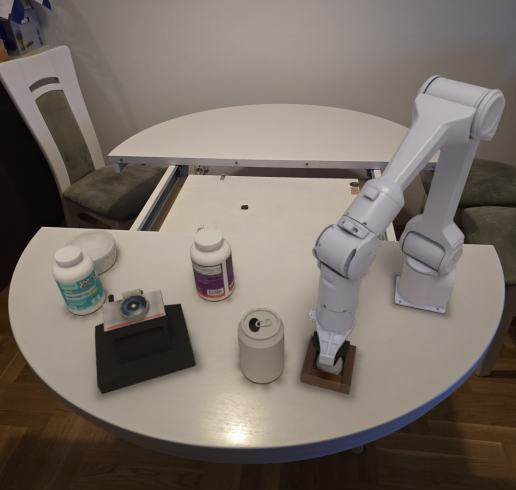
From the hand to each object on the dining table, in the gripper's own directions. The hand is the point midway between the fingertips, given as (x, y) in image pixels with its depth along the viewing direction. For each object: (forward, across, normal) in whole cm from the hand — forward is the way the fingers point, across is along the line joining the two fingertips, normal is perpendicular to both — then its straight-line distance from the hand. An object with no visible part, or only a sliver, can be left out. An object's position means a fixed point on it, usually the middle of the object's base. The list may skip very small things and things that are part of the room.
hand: (330, 353), depth 67 cm
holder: (+4, 0, 0) cm, 4 cm away
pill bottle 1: (+4, -1, -50) cm, 50 cm away
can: (+4, +3, -11) cm, 12 cm away
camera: (+4, +5, -33) cm, 34 cm away
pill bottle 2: (+4, -12, -26) cm, 29 cm away
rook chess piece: (+4, 0, 0) cm, 4 cm away
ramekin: (+4, -12, -56) cm, 57 cm away
